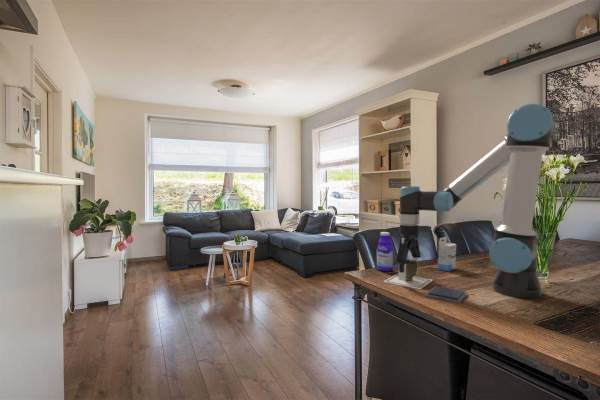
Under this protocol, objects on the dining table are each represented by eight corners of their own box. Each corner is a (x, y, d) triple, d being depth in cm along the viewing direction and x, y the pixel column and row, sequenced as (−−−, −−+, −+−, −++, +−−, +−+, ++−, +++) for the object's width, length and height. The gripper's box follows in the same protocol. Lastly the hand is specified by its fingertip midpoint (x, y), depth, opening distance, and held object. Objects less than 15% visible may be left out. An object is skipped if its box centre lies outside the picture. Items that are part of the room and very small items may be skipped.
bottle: (374, 270, 153) (375, 232, 152) (379, 267, 158) (380, 231, 157) (390, 272, 149) (390, 233, 148) (394, 269, 153) (395, 232, 153)
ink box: (448, 271, 150) (449, 239, 150) (437, 269, 154) (438, 238, 153) (456, 268, 156) (456, 237, 156) (445, 266, 160) (446, 236, 159)
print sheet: (432, 280, 136) (432, 279, 136) (420, 289, 125) (420, 288, 125) (397, 274, 146) (397, 273, 146) (383, 282, 134) (383, 281, 134)
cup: (418, 283, 131) (419, 263, 131) (399, 282, 133) (399, 262, 132) (416, 278, 139) (416, 259, 138) (397, 277, 140) (398, 258, 140)
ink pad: (466, 294, 119) (467, 291, 119) (459, 303, 110) (459, 299, 110) (435, 288, 125) (435, 285, 125) (425, 296, 117) (425, 292, 117)
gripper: (411, 221, 146) (410, 268, 147) (387, 226, 127) (387, 281, 128) (428, 222, 142) (427, 271, 143) (407, 228, 122) (406, 285, 123)
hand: (408, 276), depth 135 cm, fingers open, 13 cm apart
